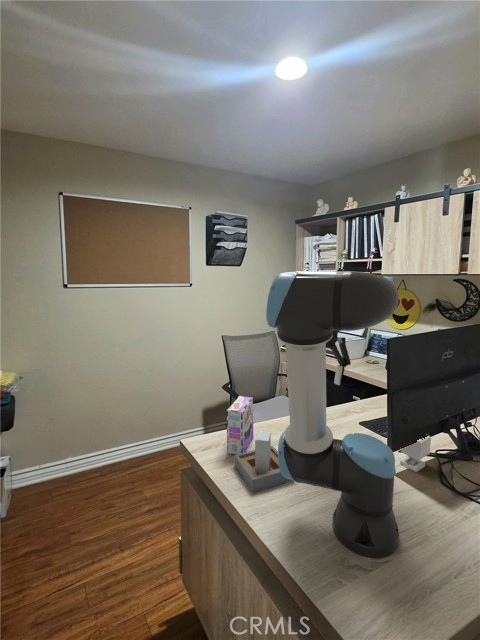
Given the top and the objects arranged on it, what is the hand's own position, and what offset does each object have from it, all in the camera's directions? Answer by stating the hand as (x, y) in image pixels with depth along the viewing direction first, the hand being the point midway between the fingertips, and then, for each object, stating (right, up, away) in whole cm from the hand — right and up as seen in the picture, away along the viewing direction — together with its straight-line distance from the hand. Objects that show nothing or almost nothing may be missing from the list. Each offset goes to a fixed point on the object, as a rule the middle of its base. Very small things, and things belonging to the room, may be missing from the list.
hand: (318, 382), depth 112 cm
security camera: (+30, -26, -5) cm, 40 cm away
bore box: (-20, -27, -8) cm, 35 cm away
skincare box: (-20, -27, -8) cm, 34 cm away
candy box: (-27, -25, +8) cm, 37 cm away
